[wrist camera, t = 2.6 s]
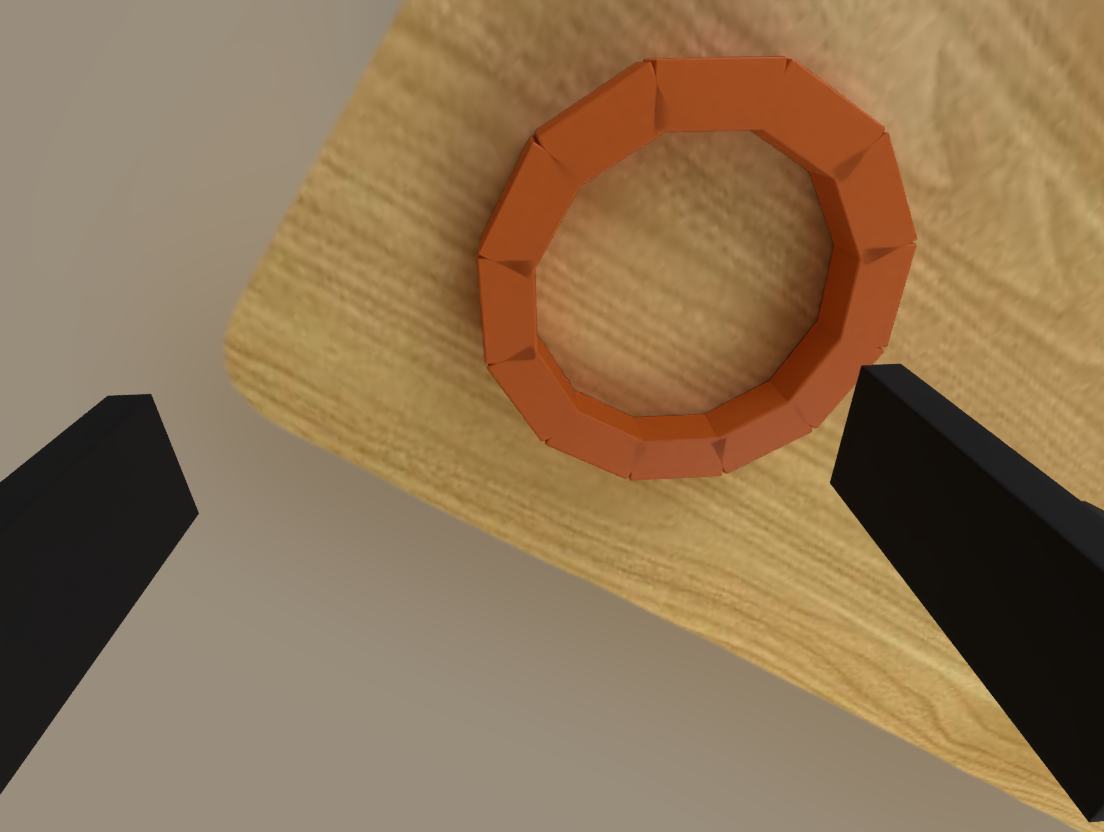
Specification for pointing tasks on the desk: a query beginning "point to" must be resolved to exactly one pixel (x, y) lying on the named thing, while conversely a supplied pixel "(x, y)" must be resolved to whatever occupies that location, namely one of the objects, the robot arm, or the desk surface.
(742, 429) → the ring
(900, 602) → the desk surface
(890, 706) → the desk surface
